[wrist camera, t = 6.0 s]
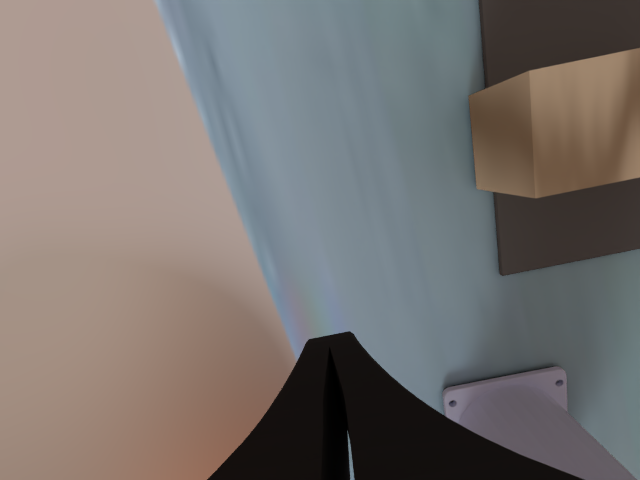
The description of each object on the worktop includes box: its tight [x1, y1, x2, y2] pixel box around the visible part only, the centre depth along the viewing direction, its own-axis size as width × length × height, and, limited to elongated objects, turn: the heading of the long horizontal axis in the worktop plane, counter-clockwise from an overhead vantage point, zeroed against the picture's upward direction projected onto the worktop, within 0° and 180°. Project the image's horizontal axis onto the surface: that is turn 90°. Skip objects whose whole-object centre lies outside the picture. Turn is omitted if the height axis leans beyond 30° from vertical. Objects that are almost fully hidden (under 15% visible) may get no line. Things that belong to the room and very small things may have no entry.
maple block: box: [469, 48, 640, 198], centre depth 16 cm, size 5×5×9 cm
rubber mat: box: [479, 0, 640, 276], centre depth 18 cm, size 16×11×1 cm
